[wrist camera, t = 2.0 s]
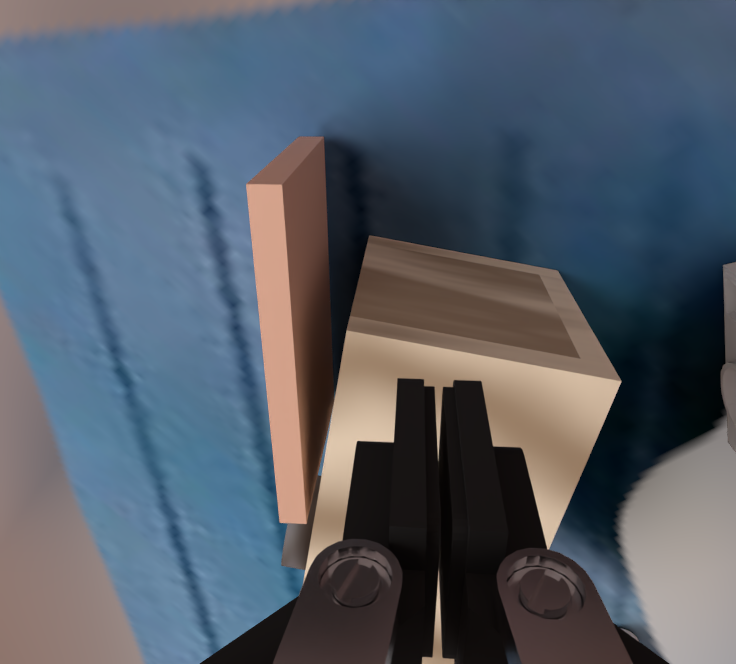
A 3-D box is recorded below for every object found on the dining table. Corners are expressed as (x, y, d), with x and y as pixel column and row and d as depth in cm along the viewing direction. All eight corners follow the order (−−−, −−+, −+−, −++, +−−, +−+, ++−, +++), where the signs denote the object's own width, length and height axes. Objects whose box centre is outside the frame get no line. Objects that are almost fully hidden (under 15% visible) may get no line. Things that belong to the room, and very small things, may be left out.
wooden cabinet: (465, 542, 40) (480, 707, 30) (299, 512, 40) (260, 668, 30) (557, 270, 31) (621, 381, 21) (342, 230, 31) (307, 323, 21)
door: (334, 401, 35) (306, 524, 26) (294, 399, 35) (253, 521, 27) (324, 136, 28) (282, 184, 20) (274, 136, 28) (210, 183, 20)
